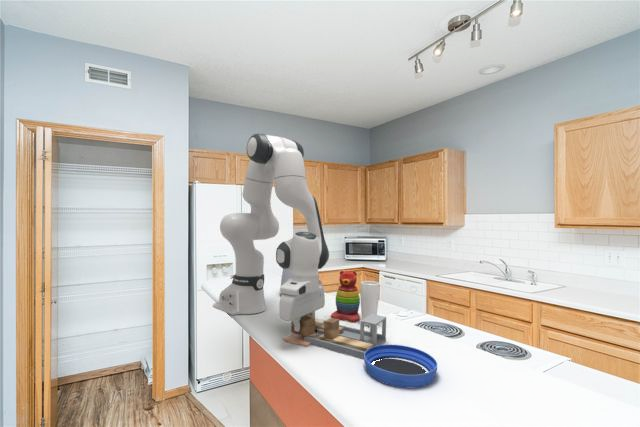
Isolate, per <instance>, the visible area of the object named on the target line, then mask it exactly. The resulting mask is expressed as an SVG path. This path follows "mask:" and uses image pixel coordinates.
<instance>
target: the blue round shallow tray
mask: <svg viewBox="0 0 640 427" xmlns="http://www.w3.org/2000/svg"><path fill="white" fill-rule="evenodd" d="M379 359H380V361H376V360H379ZM381 359H382V360H381ZM363 360H364V365H365V370H366V372H367V373H368V374H369V376H370V377H372V378H373V379H375V380H376V381H378V380H379V381H378V382H381V383H383V382H384V384H386V383H387V385H389V386H392V385H393V387H397V386H399V387H398V388H405V387H415V388H420V387H419V386H422V387H425V386H428V385H430V384H431V383H432V382H433V381H434V379H435V375H436V374H437V372H438V362H437V360H436V359H435V358H434V356H432V355H431V354H429V353H428V352H425V351H423V350H421V349H418V348H416V347H415V348H414V347H411V346H407V345H403V344H402V345H401V344H382V345H378V346H374V347H371V348H369V349H368V350H367V351H366V352H365V353H364V359H363ZM373 361H376V362H375V364H374V365H372V364H371V363H372V362H373ZM422 368H423V369H422ZM424 368H425V369H424ZM426 370H427V371H428V372H427V371H426ZM425 372H427V373H425ZM427 384H428V385H427ZM424 385H425V386H424Z"/></svg>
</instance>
